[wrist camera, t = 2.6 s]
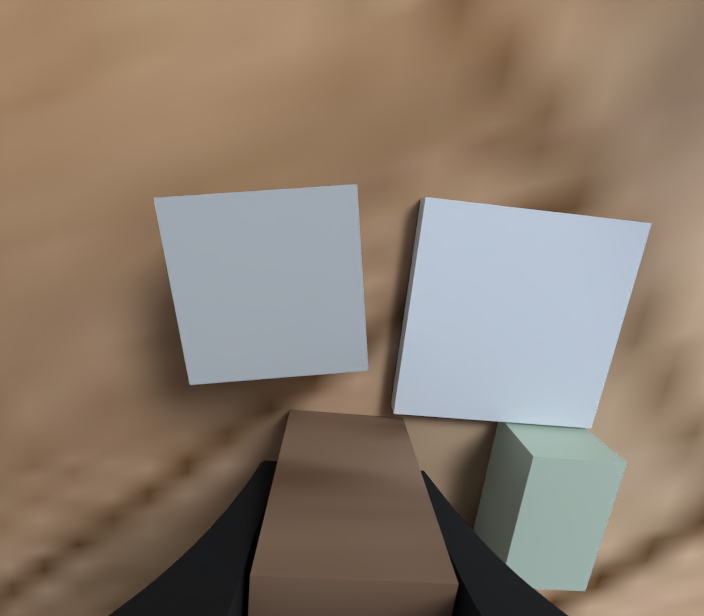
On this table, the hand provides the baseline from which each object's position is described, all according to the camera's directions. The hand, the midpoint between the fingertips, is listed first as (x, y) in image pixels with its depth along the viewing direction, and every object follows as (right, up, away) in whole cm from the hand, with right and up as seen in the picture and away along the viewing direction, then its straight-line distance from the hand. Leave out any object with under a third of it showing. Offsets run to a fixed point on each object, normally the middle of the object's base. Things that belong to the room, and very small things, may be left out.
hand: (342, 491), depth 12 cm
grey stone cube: (-2, +7, 0) cm, 8 cm away
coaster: (+6, +6, 0) cm, 8 cm away
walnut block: (0, 0, +1) cm, 1 cm away
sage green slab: (+7, 0, +2) cm, 7 cm away
